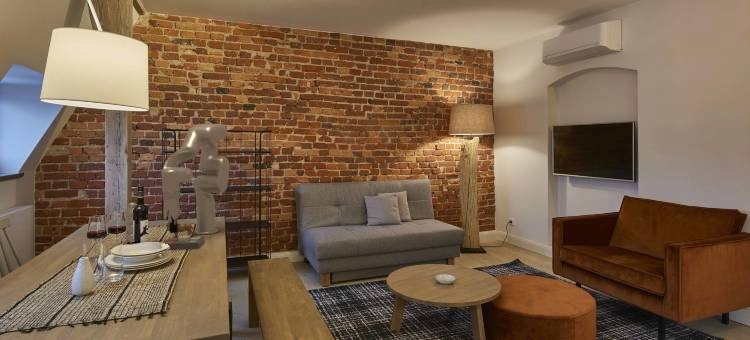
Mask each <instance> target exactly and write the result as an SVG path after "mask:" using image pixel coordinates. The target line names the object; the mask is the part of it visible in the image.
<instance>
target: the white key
mask: <svg viewBox="0 0 750 340" xmlns="http://www.w3.org/2000/svg"><path fill="white" fill-rule="evenodd" d="M190 237H191V235H189V236H187V235H181V236H178V238H179V241H188V240H189V239H190Z"/></svg>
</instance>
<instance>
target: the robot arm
mask: <svg viewBox="0 0 750 340" xmlns="http://www.w3.org/2000/svg"><path fill="white" fill-rule="evenodd" d="M186 133H187V134H186V136H185V137H184V140H183V143H182V145H181V147H180V148H179V149H178V150H176V151H175V152H174V153H173V154H171V155H169V157H168V158H167V159H166V160H165V162H164V164H163V166H162V167H163V168H162V170H161V173H160V174H161V187H162V188H161V189H162V190H161V191H162V200H163V220H164V221H166V220H167V223H169V227H170V231H169V233H170V234H174V233H177V232H178V224H179V223H178V218H179V217H180V215H181V205H180V198H181V187H180V186H181V185H180V184H181V183H183V184H184V183H188V182H191V180H192V179H193V177H194V172H193V170H192V169H191V168H189V167H185V166H179V165H180V164H181V163H184V162H186V161H189V160H191V159H194V158H196V157H197V156H198V155H199V153H200V160H199V168H198V169H199V171H200V172H201V173H202V175H198V176H196V177H195V178H194V180H193V189H194V192H195V200H196V201H195V204H196V205H195V206H196V229H194V231H195V234H197V235H211V234H215V233H218V232H219V228H216V227H217V226H216V201H215V197H214V196H213V194H212V193H214V194H216V193H217V194H219V193H220V194H221V193H225V192H226V191H227V189H228V183H229V175H230V167H231V166H230V162H229V159H228V157H225V156H223V155H222V156H221V155H219V156H218V154H219V153H218V151H219V148H218V146H217V144H216V142H219V141H222V140H224V139H225V138H226V137H227V135H228V129H227V126H226V125H225V124H223V123H221V124H220V123H201V124H198V125H194V126H192V127H190V128H189V129H188V131H187V132H186ZM200 149H201V152H200ZM203 173H204V174H203ZM205 174H206V175H205ZM211 174H214V175H211ZM215 174H217V175H215ZM178 233H179V232H178ZM195 234H194V235H195Z"/></svg>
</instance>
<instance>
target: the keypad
mask: <svg viewBox="0 0 750 340" xmlns="http://www.w3.org/2000/svg"><path fill="white" fill-rule="evenodd" d="M200 237H201V239H200V240H195V241H190V239H191V238H192V237H191V236H190V239H189V240H188V241H179V240H177V241H167V240H168V239H166V240H165V241H163V242H162V243H165V244H168V245H169V246H170V250H169V251H176V250H178V251H179V250H199V249H200V248H201V247H203V245H204V244H205V243H206V238H205V236H200Z"/></svg>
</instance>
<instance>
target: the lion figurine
mask: <svg viewBox="0 0 750 340" xmlns="http://www.w3.org/2000/svg"><path fill="white" fill-rule="evenodd" d="M177 224H178V232H177V233H173V234H174V236H173V238H179V236H178V235H179V233H184V232H186V231H187V235H186V236H190V237H195V236H198V234H195V229H194V227H193V225H191V224H190V223H189V224H184V225H181V224H180V223H177ZM165 226H166V227H165V228H166V230H167V231H168V232H170V227H169V223H168V222H167V223H166V225H165Z"/></svg>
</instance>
